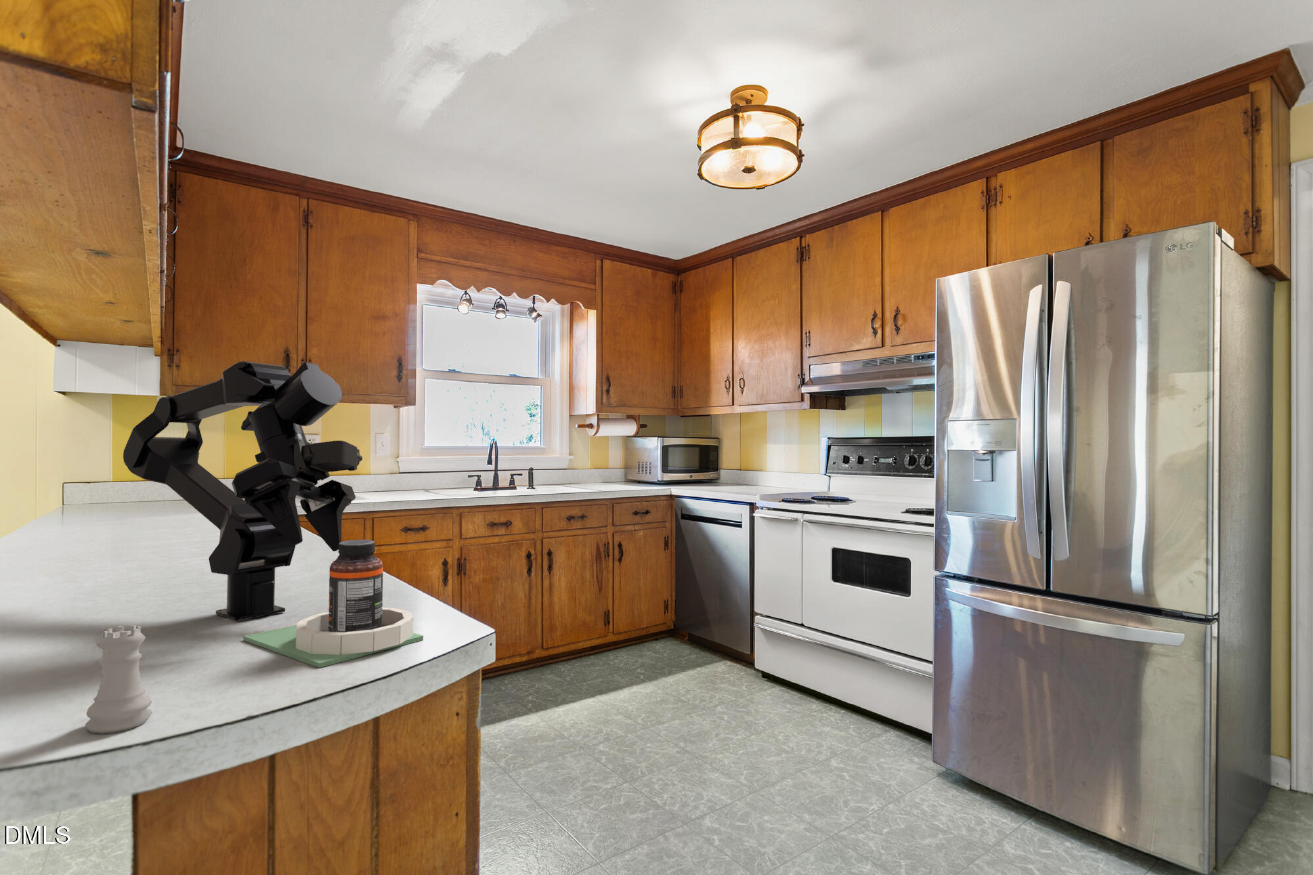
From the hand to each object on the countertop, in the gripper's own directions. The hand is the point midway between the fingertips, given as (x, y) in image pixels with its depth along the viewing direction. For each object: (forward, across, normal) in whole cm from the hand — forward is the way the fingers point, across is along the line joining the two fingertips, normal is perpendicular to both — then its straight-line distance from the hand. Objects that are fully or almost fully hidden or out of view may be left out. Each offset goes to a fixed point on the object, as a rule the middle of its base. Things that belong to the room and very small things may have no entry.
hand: (318, 546), depth 87 cm
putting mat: (+12, -3, +1) cm, 13 cm away
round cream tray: (+14, -3, -2) cm, 15 cm away
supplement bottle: (+14, -3, -2) cm, 14 cm away
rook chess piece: (+16, -27, +7) cm, 32 cm away
